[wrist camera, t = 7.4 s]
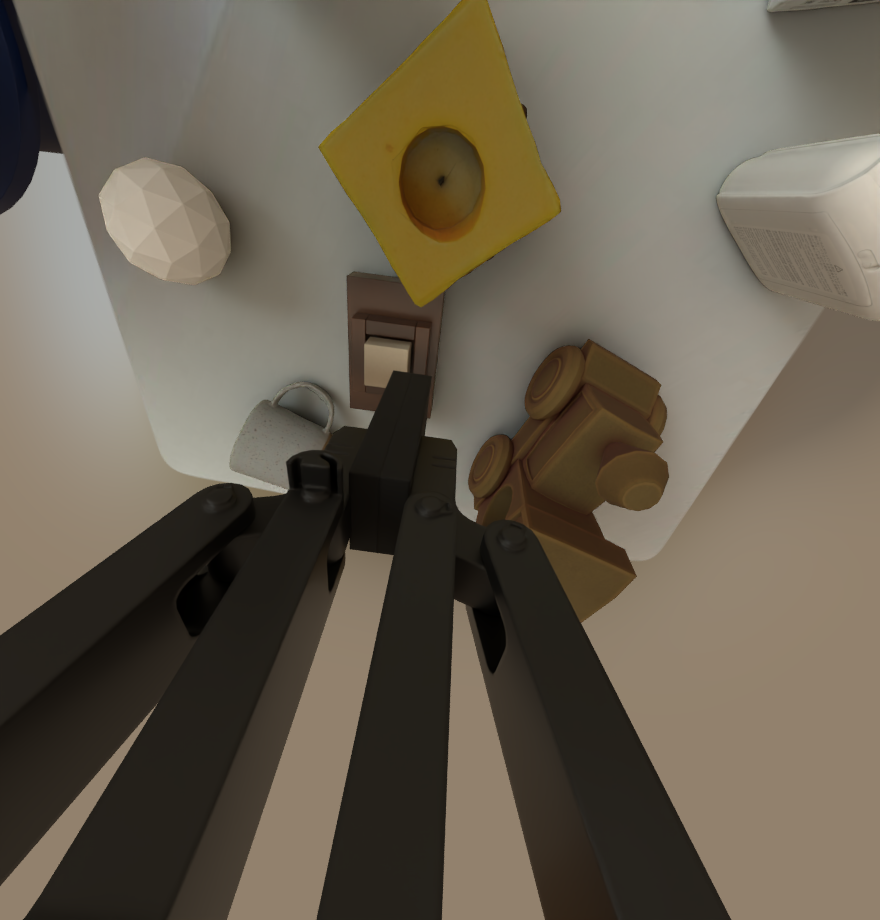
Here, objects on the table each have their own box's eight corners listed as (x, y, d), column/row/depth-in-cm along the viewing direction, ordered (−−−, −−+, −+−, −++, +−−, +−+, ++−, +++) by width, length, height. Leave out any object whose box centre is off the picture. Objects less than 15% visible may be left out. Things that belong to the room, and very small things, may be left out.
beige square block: (369, 336, 32) (363, 343, 30) (412, 341, 32) (408, 349, 30) (369, 376, 34) (364, 385, 32) (409, 381, 34) (406, 391, 32)
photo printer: (822, 255, 29) (1010, 283, 19) (763, 297, 31) (905, 344, 21) (765, 139, 26) (958, 98, 15) (702, 195, 28) (838, 192, 17)
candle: (477, 46, 24) (482, -34, 16) (542, 207, 29) (571, 209, 20) (356, 156, 28) (308, 137, 19) (430, 283, 32) (417, 311, 24)
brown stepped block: (353, 271, 32) (340, 279, 29) (446, 283, 32) (443, 293, 29) (355, 398, 39) (345, 416, 36) (431, 408, 39) (428, 427, 36)
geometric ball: (243, 236, 33) (251, 300, 30) (142, 243, 32) (140, 312, 29) (205, 133, 27) (210, 203, 24) (74, 135, 25) (60, 211, 22)
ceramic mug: (324, 470, 44) (301, 514, 38) (256, 441, 43) (219, 482, 36) (355, 398, 39) (334, 435, 33) (278, 361, 37) (240, 393, 31)
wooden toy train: (535, 513, 46) (564, 644, 33) (455, 475, 44) (448, 600, 30) (661, 379, 36) (781, 490, 22) (564, 320, 33) (630, 403, 20)
